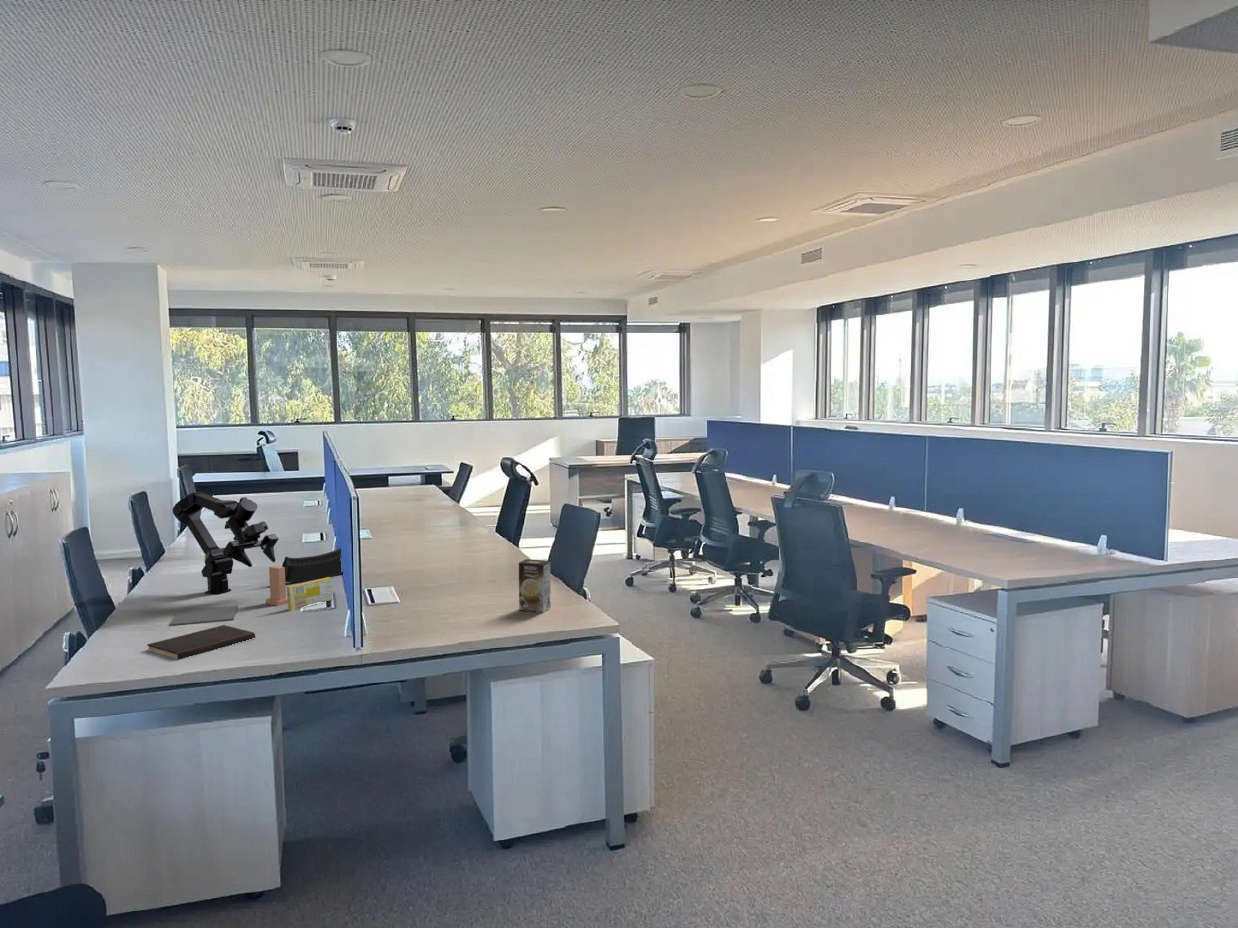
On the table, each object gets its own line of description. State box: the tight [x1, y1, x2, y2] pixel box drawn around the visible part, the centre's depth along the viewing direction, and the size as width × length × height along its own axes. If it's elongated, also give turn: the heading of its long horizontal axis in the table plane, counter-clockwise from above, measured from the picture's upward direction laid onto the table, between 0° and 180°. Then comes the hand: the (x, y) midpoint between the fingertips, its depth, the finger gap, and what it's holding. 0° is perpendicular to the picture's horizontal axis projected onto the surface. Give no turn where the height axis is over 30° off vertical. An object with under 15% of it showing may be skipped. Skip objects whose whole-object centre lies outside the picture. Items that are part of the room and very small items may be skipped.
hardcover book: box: [146, 624, 256, 661], centre depth 241 cm, size 16×23×2 cm
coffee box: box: [518, 558, 552, 613], centre depth 276 cm, size 9×6×16 cm
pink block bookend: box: [265, 565, 288, 607], centre depth 288 cm, size 6×5×12 cm
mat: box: [169, 604, 239, 627], centre depth 273 cm, size 18×18×1 cm
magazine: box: [281, 547, 342, 583], centre depth 325 cm, size 17×3×30 cm
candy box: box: [286, 577, 334, 612], centre depth 284 cm, size 16×2×8 cm, turn 144°
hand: (263, 563), depth 291 cm, fingers open, 9 cm apart
